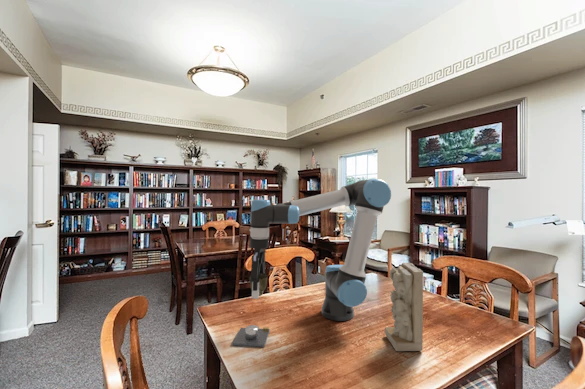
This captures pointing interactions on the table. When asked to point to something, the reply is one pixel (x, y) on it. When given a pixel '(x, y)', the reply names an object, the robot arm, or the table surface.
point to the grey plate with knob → (251, 336)
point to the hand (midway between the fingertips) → (257, 294)
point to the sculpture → (407, 308)
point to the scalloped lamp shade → (261, 283)
